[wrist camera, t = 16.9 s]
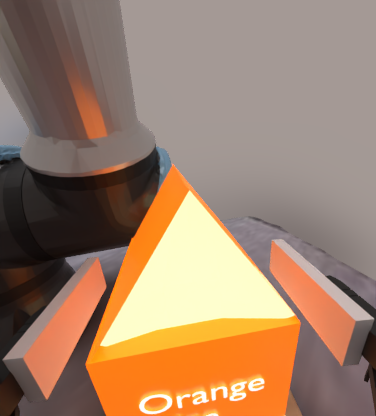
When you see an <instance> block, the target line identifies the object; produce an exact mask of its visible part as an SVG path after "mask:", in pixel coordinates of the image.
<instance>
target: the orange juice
mask: <svg viewBox="0 0 376 416" xmlns="http://www.w3.org/2000/svg"><path fill="white" fill-rule="evenodd" d="M295 316H296V315H295V314H294V313H293V311H292V310H291V309H290V308H289V306H288V305H287V304H286V303H285V301H284V300H283V299H282V298H281V296H280V295H279V294H278V293H277V291H276V290H275V289H274V288H273V286H272V285H271V284H270V282H269V281H268V280H267V279H266V277H265V276H264V275H263V274H262V272H261V271H260V270H259V269H258V267H257V266H256V265H255V264H254V262H253V261H252V260H251V259H250V257H249V256H248V255H247V254H246V252H245V251H244V250H243V249H242V247H241V246H240V245H239V244H238V242H237V241H236V240H235V239H234V237H233V236H232V235H231V234H230V232H229V231H228V230H227V229H226V227H225V226H224V225H223V224H222V223H221V221H220V220H219V219H218V218H217V217H216V216H215V214H214V213H213V212H212V211H211V210H210V208H209V207H208V206H207V205H206V203H205V202H204V201H203V200H202V199H201V197H200V196H199V195H198V194H197V193H196V191H195V190H194V189H193V188H192V187H191V186H190V184H189V183H188V182H187V181H186V179H185V178H184V177H183V176H182V175H181V174H180V172H179V171H178V170H177V169H176V167H175V166H174V165H173V166H172V167H171V169H170V171H169V173H168V175H167V177H166V179H165V180H164V182H163V184H162V186H161V188H160V190H159V192H158V194H157V195H156V197H155V199H154V201H153V203H152V205H151V207H150V208H149V210H148V212H147V214H146V216H145V218H144V220H143V221H142V223H141V225H140V227H139V229H138V231H137V233H136V235H135V236H134V238H132V239H131V242H130V245H129V248H128V250H127V253H126V256H125V258H124V261H123V264H122V267H121V269H120V272H119V275H118V277H117V280H116V283H115V286H114V288H113V291H112V294H111V296H110V299H109V302H108V305H107V307H106V310H105V313H104V315H103V318H102V321H101V324H100V326H99V329H98V332H97V334H96V337H95V340H94V343H93V345H92V348H91V351H90V353H89V356H88V359H87V362H86V364H85V365H86V367H87V370H88V372H89V375H90V377H91V380H92V382H93V385H94V387H95V389H96V392H97V394H98V397H99V399H100V402H101V404H102V407H103V409H104V412H105V414H106V416H285V411H286V405H287V399H288V393H289V387H290V382H291V376H292V370H293V364H294V358H295V352H296V346H297V341H298V335H299V329H300V322H299V320H298V319H297V318H296V317H297V316H296V317H295Z"/></svg>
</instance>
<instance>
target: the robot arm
mask: <svg viewBox="0 0 376 416" xmlns="http://www.w3.org/2000/svg"><path fill="white" fill-rule="evenodd" d="M0 78H1V80H2V82H3V83H4V85H5V87H6V88H7V90H8V92H9V94H10V96H11V98H12V99H13V101H14V103H15V105H16V106H17V108H18V110H19V112H20V114H21V115H22V117H23V119H24V121H25V122H26V124H27V126H28V128H29V130H30V131H29V135H28V136H27V138H26V140H25V143H24V145H23V147H19V146H10V145H0V416H20V410H19V407H18V405H17V404H18V403H19V401H20V400H21V398H22V397H23V395H25V397H26V398H27V400H28V401H29V402H37V401H46V400H47V399H48V398H49V396H50V394H51V392H52V390H53V388H54V386H55V384H56V382H57V380H58V379H59V377H60V375H61V373H62V371H63V369H64V367H65V365H66V363H67V361H68V359H69V358H70V356H71V354H72V352H73V350H74V348H75V346H76V344H77V342H78V340H79V338H80V337H81V335H82V333H83V331H84V330H85V328H86V327H87V325H88V323H89V321H90V319H91V317H92V314H93V312H94V310H95V308H96V306H97V304H98V302H99V300H100V298H101V297H102V295H103V293H104V291H105V289H106V287H107V286H106V283H105V279H104V276H103V272H102V269H101V265H100V262H99V258H98V257H94V258H87V260H86V261H85V262H84V263H83V264H82V266H81V267H80V268H79V269H78V270H77V272H75V271H74V270H73V268H72V267H71V266H70V265H69V264H68V263H67V262H66V260H65V258H66V257H71V256H76V255H82V254H87V253H93V252H98V251H104V250H109V249H115V248H120V247H126V246H129V245H130V242H131V239H132V238H134V236H135V235H136V233H137V231H138V229H139V227H140V225H141V223H142V221H143V220H144V218H145V216H146V214H147V212H148V210H149V208H150V207H151V205H152V203H153V201H154V199H155V197H156V195H157V194H158V192H159V190H160V188H161V186H162V184H163V182H164V180H165V179H166V177H167V175H168V173H169V171H170V169H171V167H172V165H171V161H170V158H169V155H168V153H167V151H166V150H164V149H162V148H159V147H156V144H155V136H154V135H153V133H152V132H151V131H150V130H149V129H148V128H147V127H145V126H144V125H143V124H142V123H141V122H140V121H138V119H137V116H136V109H135V102H134V96H133V89H132V82H131V76H130V69H129V62H128V56H127V48H126V42H125V35H124V28H123V21H122V15H121V9H120V1H119V0H0ZM270 271H271V273H272V274H273V275H274V277H275V278H276V279H277V281H278V282H279V283H280V285H281V286H282V287H283V289H284V290H285V291H286V293H287V294H288V295H289V296H290V298H291V299H292V300H293V302H294V303H295V304H296V306H297V307H298V308H299V310H300V311H301V312H302V314H303V315H304V316H305V318H306V319H307V320H308V322H309V323H310V324H311V326H312V327H313V328H314V330H315V331H316V332H317V334H318V335H319V336H320V338H321V339H322V340H323V342H324V343H325V344H326V345H327V347H328V348H329V349H330V351H331V352H332V353H333V355H334V356H335V357H336V359H337V360H338V361H339V363H340V364H341V365H342V366H348V365H356V364H359V362H360V359H361V356H362V355H363V357H364V358H365V359H366V360H367V361H368V362H369V363H370V364H369V366H368V369H367V371H366V374H365V378H364V381H366V382H368V380H369V378H370V383H371V389H372V396H373V402H374V408H375V415H376V309H375V308H374V307H372V306H371V305H370V304H369V303H367V302H366V301H365V300H364V299H362V298H361V297H360V296H358V295H357V294H356V293H355V292H354V291H353V290H350V288H349V287H348V286H346V285H345V284H344V283H343V282H341V281H340V280H338V279H336V278H334V277H332V276H324V275H323V274H322V273H321V272H320V271H318V270H317V269H316V268H315V267H314V266H313V265H311V264H310V263H309V262H308V261H307V260H306V259H305V258H303V257H302V256H301V255H300V254H299V253H298V252H296V251H295V250H294V249H293V248H292V247H291V246H290V245H288V244H287V243H286V242H285V241H284V240H283V239H277V240H272V247H271V259H270Z"/></svg>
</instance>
